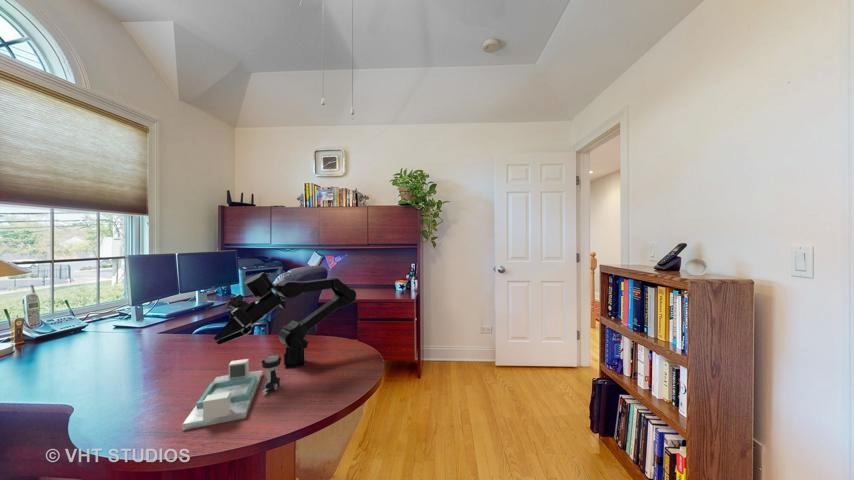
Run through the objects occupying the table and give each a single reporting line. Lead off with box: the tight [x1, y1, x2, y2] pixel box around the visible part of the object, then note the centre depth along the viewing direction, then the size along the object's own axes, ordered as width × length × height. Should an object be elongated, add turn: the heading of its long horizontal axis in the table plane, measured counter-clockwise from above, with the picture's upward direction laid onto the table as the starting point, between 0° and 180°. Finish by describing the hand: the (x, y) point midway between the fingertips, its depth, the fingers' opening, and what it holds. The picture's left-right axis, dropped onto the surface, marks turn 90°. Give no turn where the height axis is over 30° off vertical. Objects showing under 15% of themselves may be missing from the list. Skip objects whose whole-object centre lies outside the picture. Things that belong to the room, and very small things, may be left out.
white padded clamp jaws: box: [203, 358, 250, 420], centre depth 84 cm, size 5×26×4 cm, turn 21°
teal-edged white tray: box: [182, 370, 263, 431], centre depth 84 cm, size 13×26×3 cm, turn 21°
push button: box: [261, 354, 282, 396], centre depth 88 cm, size 7×5×10 cm
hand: (216, 341), depth 90 cm, fingers open, 9 cm apart
